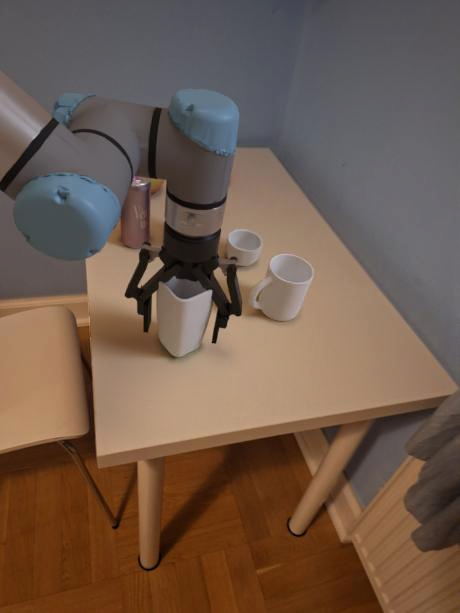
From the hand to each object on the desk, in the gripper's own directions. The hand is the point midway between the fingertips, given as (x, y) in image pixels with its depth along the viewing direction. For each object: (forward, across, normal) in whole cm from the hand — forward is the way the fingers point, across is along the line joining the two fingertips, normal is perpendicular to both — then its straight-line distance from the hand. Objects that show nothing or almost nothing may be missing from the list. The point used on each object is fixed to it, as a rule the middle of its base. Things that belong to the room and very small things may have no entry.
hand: (181, 332), depth 68 cm
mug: (+3, +16, +12) cm, 20 cm away
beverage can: (+3, -14, +26) cm, 30 cm away
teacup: (+3, +9, +27) cm, 29 cm away
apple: (+3, -17, +47) cm, 50 cm away
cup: (+3, 0, 0) cm, 3 cm away
